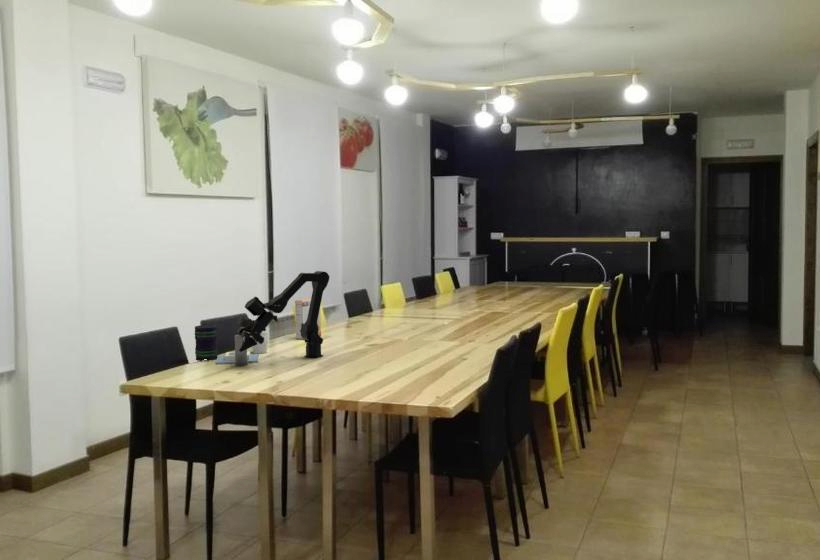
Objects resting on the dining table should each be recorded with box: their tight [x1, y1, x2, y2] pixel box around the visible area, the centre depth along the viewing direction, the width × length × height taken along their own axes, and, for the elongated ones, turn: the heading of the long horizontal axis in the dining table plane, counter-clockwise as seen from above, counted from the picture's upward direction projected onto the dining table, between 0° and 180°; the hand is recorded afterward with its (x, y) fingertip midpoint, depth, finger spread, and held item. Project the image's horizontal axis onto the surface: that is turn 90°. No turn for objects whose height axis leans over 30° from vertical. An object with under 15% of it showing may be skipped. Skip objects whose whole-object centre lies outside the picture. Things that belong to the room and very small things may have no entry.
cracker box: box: [294, 297, 322, 341], centre depth 394 cm, size 14×6×21 cm, turn 144°
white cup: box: [251, 330, 268, 354], centre depth 350 cm, size 8×8×10 cm
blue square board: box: [215, 350, 260, 365], centre depth 332 cm, size 18×18×3 cm
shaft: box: [234, 334, 248, 367], centre depth 318 cm, size 5×5×13 cm
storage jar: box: [194, 324, 219, 362], centre depth 334 cm, size 10×10×15 cm
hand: (237, 350), depth 318 cm, fingers closed on shaft, 5 cm apart
